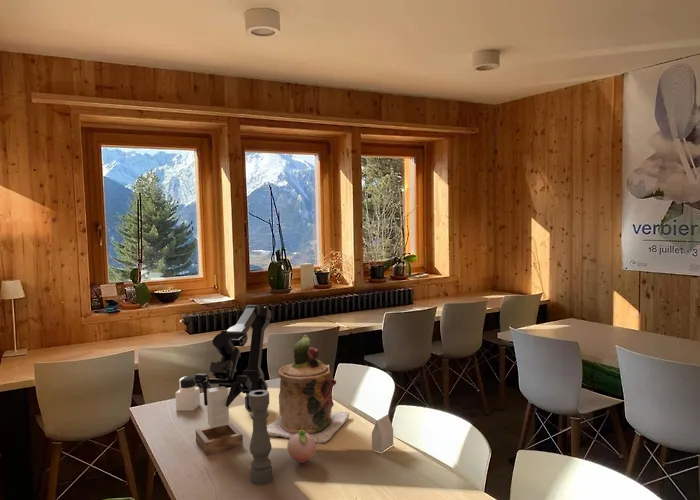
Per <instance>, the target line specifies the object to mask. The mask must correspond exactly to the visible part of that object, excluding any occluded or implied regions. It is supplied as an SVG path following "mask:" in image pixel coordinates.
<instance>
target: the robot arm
mask: <svg viewBox="0 0 700 500" xmlns="http://www.w3.org/2000/svg"><path fill="white" fill-rule="evenodd" d="M271 319H272V310H270V309H269V307H263V306H260V305H258V304H247V305H245V308H244V310H243V313H242V314H241V315H240V317H239V319H238V320H237V322H236V324H235V325H231V326H230V327H228V329H227V330H221V331H220V333H218V334H216V335H215V336H214V337H213V338H212V345H213V347H214V349H216V350H215V351H217V353H218V354H219V355H220V356H221V357H220V359H219V360H218V361H217V362H216V361H211V362H210V366H209V373H212V377H209V374H208V373H196V374H195V375H194V376H193V377H194V379H193V381H194V382H195V384H196V387H199V388H200V389H202V391H203V404H204V406H205V407H207V389H209V388H212V387H211V386H212V385H223V386H225V385H227V386H228V385H230V389H229V391H228V398H227V402H226V407H228V406H229V407H230V406H231V404H232V402H233V401H235V399H236V398H237V397H238V396H239V395H240V394H241V393H242V394H245V396H244V407H245V408H246V409H247V410H248V411H249V412H252V410H251V409H250V406H249V393H250V392H251V391H255V390H267V391H268V384H267V382H266V380H265V374H264V371H263V370H262V368H261V367H262V366H261V365H262V358H263V348H264V346H263V345H264V339H265V331H266V329H267V328H268V326H269V325H270V321H271ZM250 328H251V337H250V338H251V340H250V345H249V346H250V349H249V356H248V357H249V358H248V366H247V367H246V369H243V370H242V374H241V375H240V374H237V375H236V376H235V373H237V370H238V369H237V364H238V361H239V358H241V357H242V356H241V351H240V349H239V348H240V347H242V348H243V347H245V345H246V344H247V342H248V340H249V337H248V331H250ZM238 347H239V348H238ZM213 376H214V377H213ZM234 376H235V378H234Z"/></svg>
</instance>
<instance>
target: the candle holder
mask: <svg viewBox="0 0 700 500" xmlns="http://www.w3.org/2000/svg"><path fill="white" fill-rule="evenodd" d="M269 405H270V391H269V390H268V389H267V390H255V391H251V392H250V393H249V406H250V409H251V410H252V411H251V413H250V414H249V416H250V419H252V434H251V438H250V443H249V451H250V454H251V456H252V458H253V460H252V461H251V463H250V466H251V467H250V469H249V474H250V475H249V476H250V483H251V484H253V485H256V486H263V485H267V484H270V483H271V482H272V481H273V475H274V474H273V466H272V461H271V459H270V458H269V456H270V453H271V450H272V443H271V439H270V436H269V435H268V431H267V427H268V424H267V423H268V421H267V420H268V417H269V416H270V414H269V411H267V410H268V409H269Z"/></svg>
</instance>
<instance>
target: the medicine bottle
mask: <svg viewBox="0 0 700 500" xmlns="http://www.w3.org/2000/svg"><path fill="white" fill-rule="evenodd" d="M193 379H194V376H190V375H188V376H182V377H181V378H179V380H178V384H179V385H178V386H179V389H178V390H177V391H175V394H174V395H175V396H174V397H175V410H176V411H177V412H178V411H184V412H185V411H186V412H189V411H190V412H193V411H196V409H197V408H198V407H200V405H201V392H200V391H201V390H200V389H201V388H199V387H198V386H197V385H196V383H195V382H194V381H193Z"/></svg>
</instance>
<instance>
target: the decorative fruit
mask: <svg viewBox="0 0 700 500" xmlns="http://www.w3.org/2000/svg"><path fill="white" fill-rule="evenodd" d="M286 448H287V452H288V454H289V457H291V459H293V460H294V461H297V462H299V463H301V464H304V463H307V462H308V461H310V460H311V459H312V458H313V457H314V455H315V454H316V452H317V444H316V442H315V441H314V440H313V438H312V437H311V436H310V435H309V434H308V433H306V432H305V431H304V430H299V431H298V433H297V434H295V435H293V436H292V437H291V438H290V439H289V438H288V441H287V447H286Z"/></svg>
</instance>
